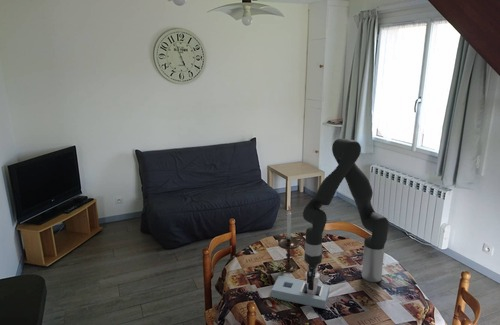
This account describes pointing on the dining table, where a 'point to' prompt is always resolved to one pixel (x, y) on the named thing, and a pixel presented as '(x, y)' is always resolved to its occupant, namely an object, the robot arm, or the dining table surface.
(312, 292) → the smoothie
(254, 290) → the dining table surface
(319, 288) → the socket block
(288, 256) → the candlestick
